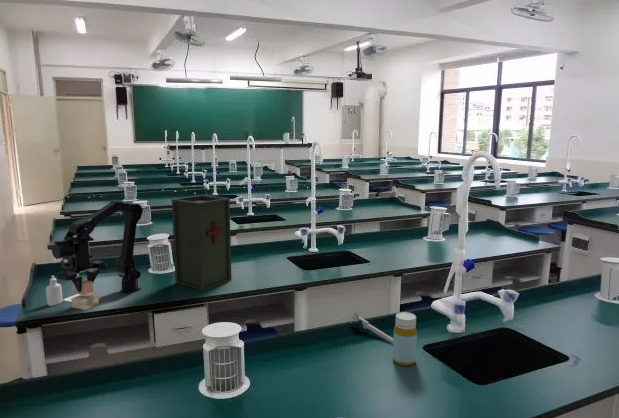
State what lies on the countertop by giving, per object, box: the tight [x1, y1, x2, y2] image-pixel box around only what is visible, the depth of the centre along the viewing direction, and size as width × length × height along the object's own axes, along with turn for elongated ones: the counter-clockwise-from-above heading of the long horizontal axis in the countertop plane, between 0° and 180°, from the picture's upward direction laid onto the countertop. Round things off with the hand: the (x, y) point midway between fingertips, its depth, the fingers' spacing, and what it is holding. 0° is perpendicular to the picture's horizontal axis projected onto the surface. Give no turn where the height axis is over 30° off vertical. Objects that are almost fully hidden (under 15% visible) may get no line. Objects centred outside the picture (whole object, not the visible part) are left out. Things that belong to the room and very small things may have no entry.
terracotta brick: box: [75, 279, 94, 295], centre depth 186 cm, size 4×4×4 cm
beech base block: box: [71, 293, 100, 311], centre depth 187 cm, size 7×7×4 cm
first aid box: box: [171, 194, 232, 292], centre depth 214 cm, size 18×18×40 cm
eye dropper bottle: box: [45, 275, 64, 307], centre depth 188 cm, size 4×6×12 cm
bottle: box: [392, 311, 418, 367], centre depth 143 cm, size 7×7×15 cm
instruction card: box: [63, 293, 80, 303], centre depth 196 cm, size 8×6×1 cm
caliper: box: [351, 311, 394, 345], centre depth 162 cm, size 20×1×6 cm, turn 43°
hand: (84, 290), depth 186 cm, fingers closed on terracotta brick, 4 cm apart
